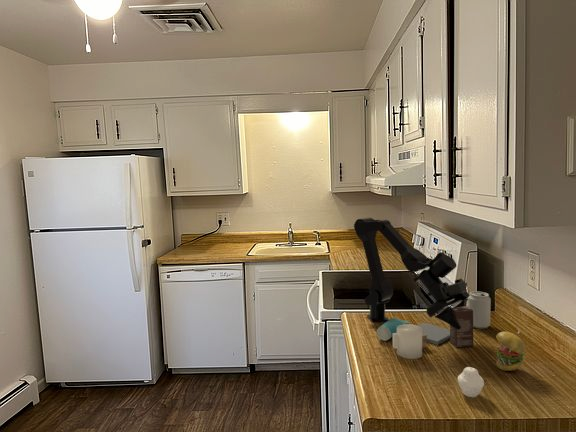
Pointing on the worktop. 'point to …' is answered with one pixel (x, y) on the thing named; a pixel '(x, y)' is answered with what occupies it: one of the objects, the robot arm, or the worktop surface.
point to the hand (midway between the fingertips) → (465, 325)
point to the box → (462, 327)
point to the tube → (389, 328)
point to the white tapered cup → (408, 341)
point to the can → (480, 309)
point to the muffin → (470, 382)
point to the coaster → (435, 333)
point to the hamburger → (509, 351)
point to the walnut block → (424, 340)
